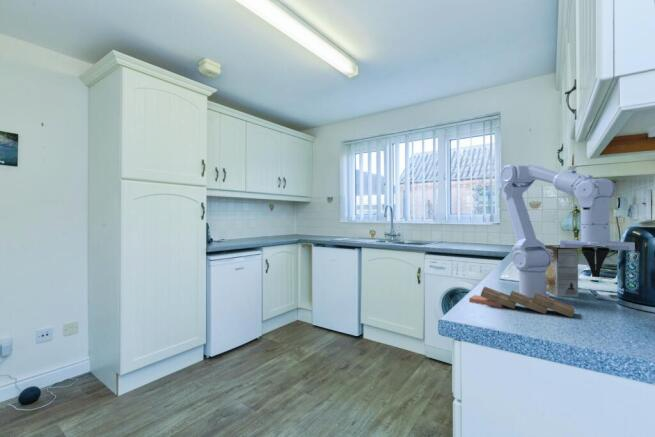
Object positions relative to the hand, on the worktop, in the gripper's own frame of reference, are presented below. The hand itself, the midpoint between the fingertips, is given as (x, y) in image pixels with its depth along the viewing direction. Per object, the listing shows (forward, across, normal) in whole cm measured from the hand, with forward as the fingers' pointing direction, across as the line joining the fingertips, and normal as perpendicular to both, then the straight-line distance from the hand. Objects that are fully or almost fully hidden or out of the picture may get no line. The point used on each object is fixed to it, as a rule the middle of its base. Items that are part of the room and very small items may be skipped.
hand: (595, 276), depth 80 cm
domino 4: (+10, -4, -3) cm, 11 cm away
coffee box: (+11, -10, +23) cm, 27 cm away
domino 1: (+10, -20, -4) cm, 23 cm away
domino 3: (+10, -10, -4) cm, 15 cm away
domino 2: (+9, -17, -4) cm, 20 cm away
